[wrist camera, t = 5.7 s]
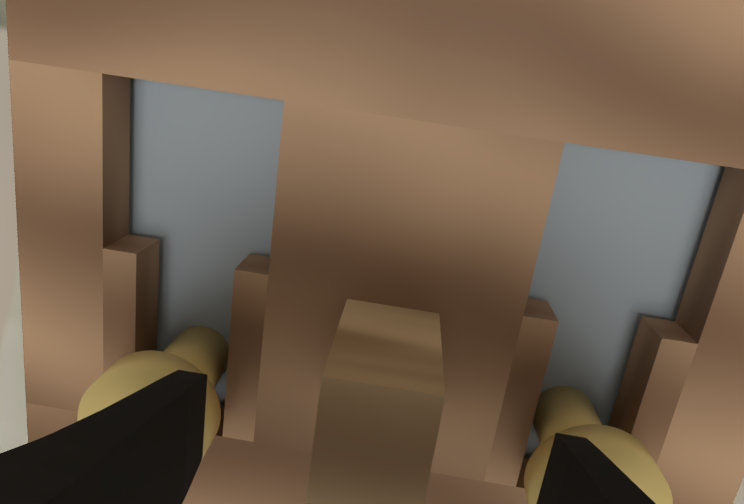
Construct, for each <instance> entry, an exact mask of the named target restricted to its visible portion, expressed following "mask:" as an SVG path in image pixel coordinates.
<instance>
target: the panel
mask: <svg viewBox="0 0 744 504" xmlns="http://www.w3.org/2000/svg"><path fill="white" fill-rule="evenodd" d="M6 15H7V34H8V53H9V73H10V93H11V113H12V132H13V151H14V172H15V192H16V210H17V231H18V251H19V270H20V290H21V310H22V329H23V349H24V369H25V389H26V408H27V428H28V443H30V442H32V441H35V440H37V439H39V438H42V437H44V436H47V435H49V434H51V433H54V432H56V431H58V430H60V429H62V428H64V427H66V426H68V425H71V424H73V423H75V422H77V421H78V420H77V416H78V408H79V404H80V401H81V398H82V396H83V395H84V393H85V391H86V390H87V389H88V388H89V387H90V385H91V384H93V383H94V382H95V381H96V380H97V379H98V378H99V377H100V376H101V375H102V374H103V373H104V372H105V371H106V370H107V369H108V368H110V367H111V366H112V365H113V364H114V363H115V362H116V361H117V360H119V359H121V358H122V357H124V356H126V355H128V354H131V353H135V352H139V351H149V350H154V351H157V317H158V280H159V244H160V239H155V238H149V237H143V236H136V235H130V234H129V163H130V78H135V79H142V80H149V81H156V82H162V83H169V84H176V85H182V86H189V87H196V88H202V89H209V90H216V91H223V92H229V93H236V94H243V95H249V96H256V97H263V98H270V99H276V100H283V101H284V106H283V117H282V128H281V139H280V150H279V162H278V173H277V184H276V195H275V206H274V217H273V229H272V240H271V251H270V257H268V256H262V255H256V254H249V255H248V256H247V257H246V258H245V259H244V260H243V261H242V262H241V263H240V264H239V265H238V266H237V267H236V268H235V269H234V280H233V294H232V308H231V322H230V337H229V351H228V365H227V380H226V394H225V407H221V406H220V408H221V420H220V425H219V429H218V431H217V434H216V436H215V437H214V439H213V441H212V443H211V445H210V446H209V448H208V450H207V452H206V453H205V455H204V457H203V459H202V460H201V463H200V465H199V467H198V470H197V472H196V474H195V477H194V479H193V481H192V484H191V486H190V488H189V490H188V492H187V495H186V497H185V499H184V501H183V503H182V504H528V501H527V497H526V493H525V488H524V473H525V469H526V466H527V463H528V461H529V459H527V458H523V457H524V454H525V450H526V446H527V442H528V438H529V434H530V431H531V427H532V423H533V419H534V415H535V411H536V408H537V404H538V400H539V396H540V392H541V388H542V384H543V381H544V377H545V373H546V369H547V365H548V361H549V358H550V354H551V350H552V346H553V342H554V338H555V335H556V331H557V327H558V323H559V321H558V319H557V317H556V316H555V314H554V312H553V310H552V308H551V307H550V305H549V303H548V301H544V300H538V299H532V298H528V295H529V291H530V286H531V282H532V278H533V274H534V270H535V265H536V261H537V257H538V253H539V249H540V245H541V240H542V236H543V232H544V228H545V224H546V219H547V215H548V211H549V207H550V203H551V198H552V194H553V190H554V186H555V182H556V178H557V173H558V169H559V165H560V161H561V157H562V152H563V148H564V144H565V143H571V144H578V145H585V146H591V147H598V148H605V149H611V150H618V151H625V152H632V153H638V154H645V155H652V156H658V157H665V158H672V159H679V160H685V161H692V162H699V163H705V164H712V165H719V166H725V170H724V173H723V176H722V179H721V182H720V185H719V188H718V191H717V194H716V197H715V200H714V203H713V206H712V209H711V212H710V215H709V218H708V222H707V225H706V228H705V231H704V234H703V237H702V240H701V243H700V246H699V249H698V252H697V255H696V258H695V261H694V264H693V267H692V270H691V273H690V277H689V280H688V283H687V286H686V289H685V292H684V295H683V298H682V301H681V304H680V307H679V310H678V313H677V316H676V319H675V321H670V320H664V319H657V318H651V317H645V316H642V317H641V320H640V324H639V327H638V330H637V333H636V337H635V340H634V343H633V346H632V350H631V353H630V356H629V359H628V363H627V366H626V369H625V372H624V376H623V379H622V382H621V386H620V389H619V392H618V395H617V399H616V402H615V405H614V408H613V412H612V415H611V418H610V421H609V425H608V426H611V427H615V428H618V429H621V430H623V431H625V432H627V433H629V434H631V435H633V436H634V437H635V438H637V439H638V440H639V441H640V442H641V443H643V445H644V446H645V447H646V448H647V449H648V451H649V453H650V454H651V456H652V458H653V459H654V461H655V463H656V464H657V466H658V468H659V469H660V471H661V473H662V474H663V476H664V478H665V479H666V481H667V483H668V485H669V487H670V489H671V493H672V497H673V504H733V502H734V499H735V497H736V494H737V492H738V489H739V487H740V484H741V482H742V479H743V477H744V0H6Z"/></svg>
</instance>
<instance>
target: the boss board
mask: <svg viewBox="0 0 744 504" xmlns="http://www.w3.org/2000/svg"><path fill="white" fill-rule="evenodd" d="M283 106H284V101H283V100H276V99H270V98H263V97H256V96H249V95H243V94H236V93H229V92H223V91H216V90H209V89H202V88H196V87H189V86H182V85H176V84H169V83H162V82H156V81H149V80H142V79H135V78H130V163H129V234H130V235H136V236H143V237H149V238H155V239H160V244H159V280H158V317H157V351H154V350H149V351H139V352H135V353H131V354H128V355H126V356H124V357H122V358H121V359H119V360H117V361H116V362H115V363H114V364H113V365H112V366H111V367H110V368H108V369H107V370H106V371H105V372H104V373H103V374H102V375H101V376H100V377H99V378H98V379H97V380H96V381H95V382H94V383H93V384H91V385H90V387H89V388H88V389H87V390H86V391H85V393H84V395H83V396H82V398H81V401H80V404H79V408H78V416H77V420H78V421H79V420H81V419H83V418H85V417H88V416H90V415H92V414H94V413H96V412H98V411H100V410H102V409H104V408H106V407H108V406H110V405H112V404H114V403H116V402H118V401H119V400H121V399H123V398H125V397H127V396H129V395H131V394H133V393H135V392H137V391H138V390H140V389H142V388H144V387H146V386H148V385H150V384H151V383H153V382H155V381H157V380H159V379H161V378H163V377H165V376H167V375H169V374H171V373H173V372H175V371H177V370H184V371H190V372H196V373H202V374H207V391H206V407H205V423H204V440H203V456H202V459H203V457H204V455H205V453H206V452H207V450H208V448H209V446H210V445H211V443H212V441H213V439H214V437H215V436H216V434H217V431H218V429H219V425H220V420H221V408H220V406H221V407H225V394H226V380H227V365H228V351H229V337H230V322H231V308H232V294H233V280H234V269H235V268H236V267H237V266H238V265H239V264H240V263H241V262H242V261H243V260H244V259H245V258H246V257H247V256H248V255H249V254H256V255H262V256H268V257H270V251H271V240H272V229H273V217H274V206H275V195H276V184H277V173H278V162H279V150H280V139H281V128H282V117H283ZM724 170H725V166H719V165H712V164H705V163H699V162H692V161H685V160H679V159H672V158H665V157H658V156H652V155H645V154H638V153H632V152H625V151H618V150H611V149H605V148H598V147H591V146H585V145H578V144H571V143H565V144H564V148H563V152H562V157H561V161H560V165H559V169H558V173H557V178H556V182H555V186H554V190H553V194H552V198H551V203H550V207H549V211H548V215H547V219H546V224H545V228H544V232H543V236H542V240H541V245H540V249H539V253H538V257H537V261H536V265H535V270H534V274H533V278H532V282H531V286H530V291H529V295H528V298H532V299H538V300H544V301H548V303H549V305H550V307H551V308H552V310H553V312H554V314H555V316H556V317H557V319H558V321H559V323H558V327H557V331H556V335H555V338H554V342H553V346H552V350H551V354H550V358H549V361H548V365H547V369H546V373H545V377H544V381H543V384H542V388H541V392H540V396H539V400H538V404H537V408H536V411H535V415H534V419H533V423H532V427H531V431H530V434H529V438H528V442H527V446H526V450H525V454H524V457H523V458H527V459H529V461H528V463H527V466H526V469H525V473H524V488H525V493H526V497H527V501H528V504H536V503H537V500H538V496H539V492H540V489H541V485H542V481H543V478H544V474H545V470H546V467H547V463H548V459H549V456H550V452H551V448H552V445H553V441H554V437H555V434H556V433H561V434H566V435H572V436H578V437H584V438H587V439H588V440H589V441H591V442H592V443H593V444H594V445H595V446H596V447H597V448H598V449H600V450H601V451H602V452H603V453H604V454H605V455H606V456H607V457H608V458H609V459H610V460H611V461H612V462H613V463H614V464H615V465H616V466H617V467H618V468H619V469H620V470H621V471H622V472H623V473H624V474H625V475H626V476H628V477H629V478H630V479H631V480H632V481H633V482H634V483H635V484H636V485H637V486H638V487H639V488H640V489H641V490H642V491H643V492H644V493H645V494H646V495H647V496H648V497H649V498H650V499H651V500H653V501H654V502H655V503H656V504H673V497H672V493H671V489H670V487H669V485H668V483H667V481H666V479H665V478H664V476H663V474H662V473H661V471H660V469H659V468H658V466H657V464H656V463H655V461H654V459H653V458H652V456H651V454H650V453H649V451H648V449H647V448H646V447H645V446H644V445H643V443H641V442H640V441H639V440H638V439H637V438H635V437H634V436H633V435H631V434H629V433H627V432H625V431H623V430H621V429H618V428H615V427H611V426H608V425H609V421H610V418H611V415H612V412H613V408H614V405H615V402H616V399H617V395H618V392H619V389H620V386H621V382H622V379H623V376H624V372H625V369H626V366H627V363H628V359H629V356H630V353H631V350H632V346H633V343H634V340H635V337H636V333H637V330H638V327H639V324H640V320H641V317H642V316H645V317H651V318H657V319H664V320H670V321H675V319H676V316H677V313H678V310H679V307H680V304H681V301H682V298H683V295H684V292H685V289H686V286H687V283H688V280H689V277H690V273H691V270H692V267H693V264H694V261H695V258H696V255H697V252H698V249H699V246H700V243H701V240H702V237H703V234H704V231H705V228H706V225H707V222H708V218H709V215H710V212H711V209H712V206H713V203H714V200H715V197H716V194H717V191H718V188H719V185H720V182H721V179H722V176H723V173H724Z"/></svg>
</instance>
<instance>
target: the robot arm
mask: <svg viewBox="0 0 744 504" xmlns="http://www.w3.org/2000/svg"><path fill="white" fill-rule="evenodd" d="M206 391H207V374H202V373H196V372H190V371H184V370H177V371H175V372H173V373H171V374H169V375H167V376H165V377H163V378H161V379H159V380H157V381H155V382H153V383H151V384H150V385H148V386H146V387H144V388H142V389H140V390H138V391H137V392H135V393H133V394H131V395H129V396H127V397H125V398H123V399H121V400H119V401H118V402H116V403H114V404H112V405H110V406H108V407H106V408H104V409H102V410H100V411H98V412H96V413H94V414H92V415H90V416H88V417H85V418H83V419H81V420H79V421H77V422H75V423H73V424H71V425H68V426H66V427H64V428H62V429H60V430H58V431H56V432H54V433H51V434H49V435H47V436H44V437H42V438H39V439H37V440H35V441H32V442H30V443H27V444H25V445H22V446H19V447H17V448H14V449H11V450H9V451H6V452H3V453H1V454H0V504H182V503H183V501H184V499H185V497H186V495H187V492H188V490H189V488H190V486H191V484H192V481H193V479H194V477H195V474H196V472H197V470H198V467H199V465H200V463H201V460H202V456H203V440H204V423H205V407H206ZM536 504H656V503H655V502H654V501H653V500H651V499H650V498H649V497H648V496H647V495H646V494H645V493H644V492H643V491H642V490H641V489H640V488H639V487H638V486H637V485H636V484H635V483H634V482H633V481H632V480H631V479H630V478H629V477H628V476H626V475H625V474H624V473H623V472H622V471H621V470H620V469H619V468H618V467H617V466H616V465H615V464H614V463H613V462H612V461H611V460H610V459H609V458H608V457H607V456H606V455H605V454H604V453H603V452H602V451H601V450H600V449H598V448H597V447H596V446H595V445H594V444H593V443H592V442H591V441H589V440H588V439H587V438H584V437H578V436H572V435H566V434H561V433H556V434H555V437H554V441H553V445H552V448H551V452H550V456H549V459H548V463H547V467H546V470H545V474H544V478H543V481H542V485H541V489H540V492H539V496H538V500H537V503H536Z"/></svg>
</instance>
